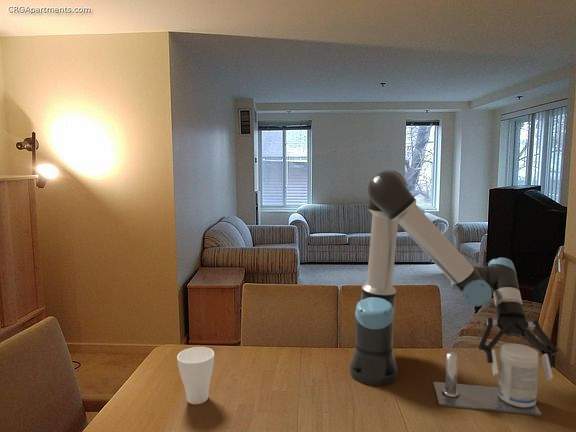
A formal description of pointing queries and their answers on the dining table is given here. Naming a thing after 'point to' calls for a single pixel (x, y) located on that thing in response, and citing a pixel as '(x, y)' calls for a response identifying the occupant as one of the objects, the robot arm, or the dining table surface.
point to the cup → (196, 372)
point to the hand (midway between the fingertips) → (522, 377)
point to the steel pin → (451, 375)
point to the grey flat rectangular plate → (480, 399)
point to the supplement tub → (518, 375)
